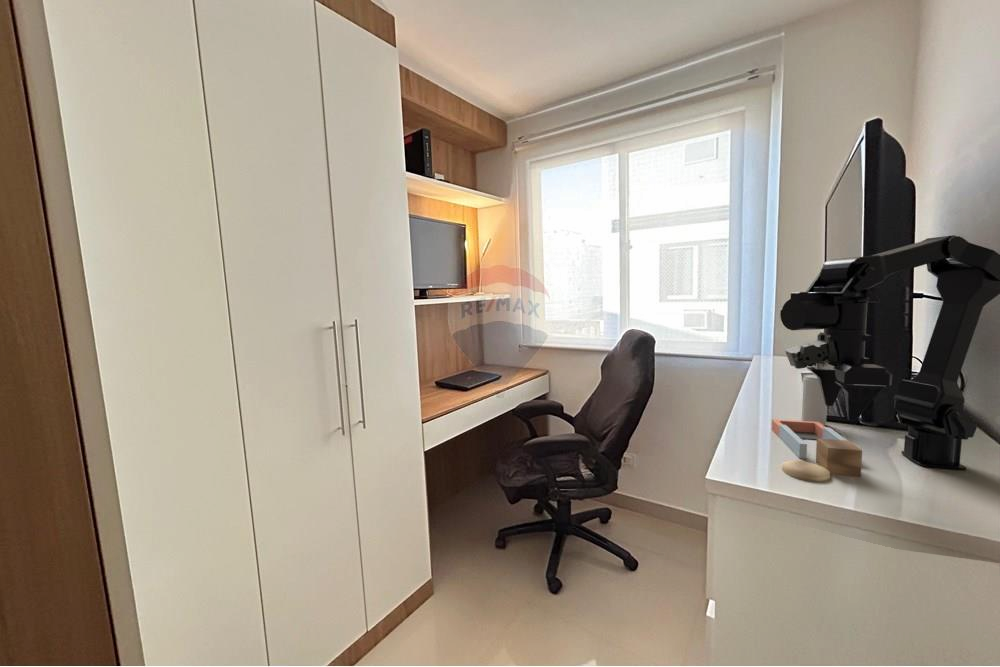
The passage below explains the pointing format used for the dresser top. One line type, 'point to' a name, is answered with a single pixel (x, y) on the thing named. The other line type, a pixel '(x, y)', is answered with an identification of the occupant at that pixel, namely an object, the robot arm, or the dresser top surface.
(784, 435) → the channel
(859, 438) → the dresser top surface
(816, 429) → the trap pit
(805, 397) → the beverage can
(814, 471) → the cork coaster
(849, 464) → the walnut block
